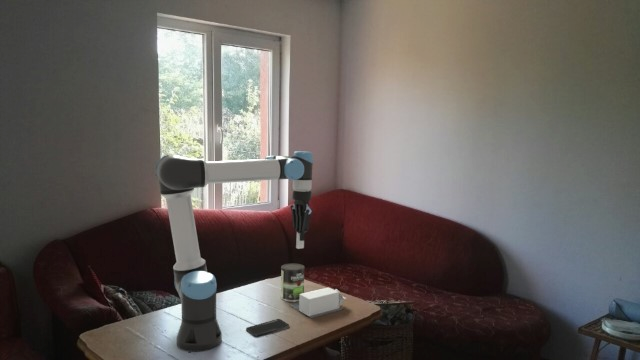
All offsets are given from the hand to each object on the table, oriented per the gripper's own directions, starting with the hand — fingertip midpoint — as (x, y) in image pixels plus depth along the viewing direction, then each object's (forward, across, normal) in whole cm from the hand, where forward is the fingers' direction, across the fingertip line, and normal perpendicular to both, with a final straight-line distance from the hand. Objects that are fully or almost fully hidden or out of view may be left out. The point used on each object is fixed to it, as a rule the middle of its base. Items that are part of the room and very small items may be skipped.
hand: (299, 248), depth 191 cm
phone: (+27, -8, +19) cm, 34 cm away
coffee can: (+26, +14, -6) cm, 30 cm away
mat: (+26, -1, -8) cm, 27 cm away
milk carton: (+22, -5, 0) cm, 23 cm away
